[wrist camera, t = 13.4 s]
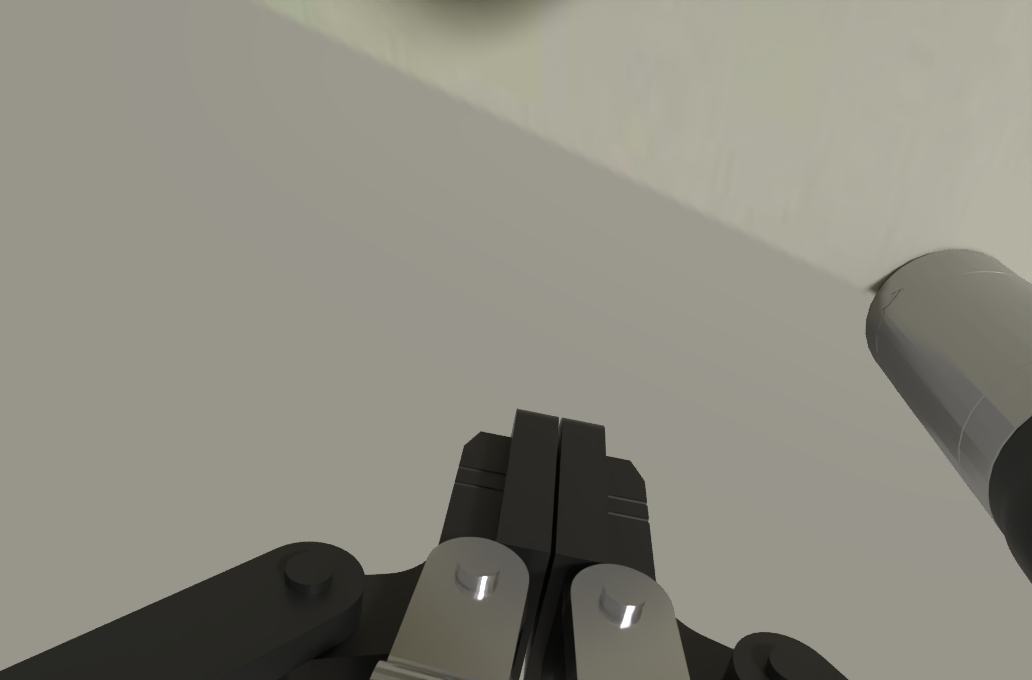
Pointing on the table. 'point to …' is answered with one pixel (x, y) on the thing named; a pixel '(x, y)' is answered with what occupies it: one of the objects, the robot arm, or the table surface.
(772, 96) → the table surface
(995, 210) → the table surface
